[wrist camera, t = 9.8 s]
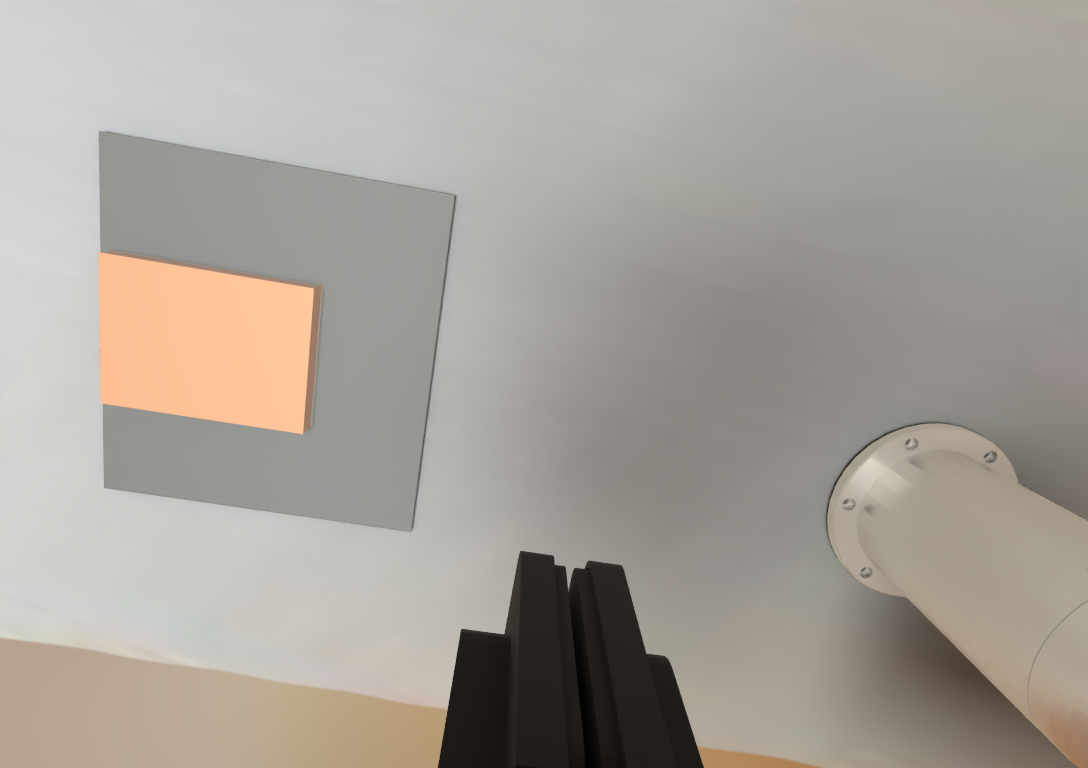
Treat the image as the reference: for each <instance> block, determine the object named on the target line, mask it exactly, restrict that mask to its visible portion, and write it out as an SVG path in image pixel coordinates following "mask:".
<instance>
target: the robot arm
mask: <svg viewBox="0 0 1088 768" xmlns="http://www.w3.org/2000/svg"><path fill="white" fill-rule="evenodd" d="M827 523H828V534H829V538H830V542H831V546H832V548H833V550H834V552H835V554H836V556H837V557H838V559H839V561H840V562H841V563H842V564H843V565H844V567H845V568H846V569H847V570H848V571H849V572H850V573H851V574H852V575H853V576H854V577H855V578H856V579H857V580H858V581H859V582H861V583H863V584H864V585H866V586H868V587H869V588H871V589H873V590H875V591H878V592H881V593H884V594H887V595H892V596H899V597H907V598H908V599H909V600H910V601H911V602H912V603H913V604H914V605H915V606H916V607H917V608H918V609H919V610H920V611H921V612H922V613H923V614H924V615H925V616H926V617H927V618H928V619H929V620H930V621H931V622H932V623H933V624H934V625H935V626H936V627H937V628H938V629H939V630H940V631H941V632H942V633H943V634H944V635H945V636H946V637H947V638H948V639H949V640H950V641H951V642H952V643H953V644H954V645H955V646H956V648H957V649H958V650H959V651H960V652H961V653H962V654H963V655H964V656H965V657H966V658H967V659H968V660H969V661H970V662H971V663H972V664H973V665H974V666H975V667H976V668H977V669H978V670H979V671H980V672H981V673H982V674H983V675H984V676H985V677H986V678H987V679H988V680H989V681H990V682H991V683H992V684H993V685H994V686H995V687H996V688H997V689H998V690H999V691H1000V692H1001V693H1002V694H1003V695H1004V696H1005V697H1006V698H1007V699H1008V700H1009V701H1010V702H1011V703H1012V704H1013V705H1014V706H1015V707H1016V708H1017V709H1018V710H1019V711H1020V712H1021V713H1022V714H1023V715H1024V716H1025V717H1026V718H1027V719H1028V720H1029V721H1030V722H1031V723H1032V724H1033V725H1034V726H1035V727H1037V728H1038V729H1039V730H1040V731H1041V732H1042V733H1043V734H1044V735H1045V736H1046V737H1047V738H1048V739H1049V740H1050V741H1051V742H1052V743H1053V744H1054V745H1055V746H1056V747H1057V748H1058V749H1059V750H1060V751H1061V752H1062V753H1063V754H1064V755H1065V756H1066V757H1067V758H1068V759H1069V760H1070V761H1071V762H1072V763H1074V764H1075V765H1076V766H1077V767H1078V768H1088V521H1087V520H1085V519H1083V518H1081V517H1079V516H1077V515H1076V514H1074V513H1072V512H1070V511H1068V510H1066V509H1064V508H1063V507H1061V506H1059V505H1057V504H1055V503H1053V502H1051V501H1050V500H1048V499H1046V498H1044V497H1042V496H1040V495H1038V494H1037V493H1035V492H1033V491H1031V490H1029V489H1027V488H1026V487H1024V486H1022V485H1020V484H1018V479H1017V476H1016V474H1015V471H1014V469H1013V466H1012V464H1011V462H1010V461H1009V460H1008V458H1007V457H1006V456H1005V454H1004V453H1003V452H1002V450H1000V449H999V448H998V447H997V446H996V445H995V444H993V443H992V442H991V441H990V440H988V439H986V438H984V437H982V436H980V435H978V434H976V433H975V432H972V431H970V430H967V429H964V428H962V427H959V426H954V425H948V424H942V423H936V424H920V425H915V426H910V427H905V428H903V429H900V430H897V431H895V432H892V433H890V434H887V435H886V436H884V437H882V438H880V439H879V440H877V441H875V442H874V443H872V444H871V445H869V446H868V447H867V448H866V449H865V450H863V451H862V452H861V453H860V454H859V455H857V456H856V458H855V459H854V460H853V461H852V462H851V463H850V464H849V466H848V467H847V468H846V469H845V470H844V472H843V474H842V475H841V477H840V479H839V480H838V482H837V484H836V486H835V488H834V491H833V494H832V496H831V499H830V503H829V509H828V515H827ZM438 768H704V767H703V764H702V761H701V758H700V754H699V751H698V748H697V745H696V742H695V739H694V735H693V732H692V729H691V726H690V723H689V720H688V717H687V713H686V710H685V707H684V704H683V701H682V698H681V694H680V691H679V688H678V685H677V682H676V679H675V676H674V672H673V669H672V666H671V664H670V662H669V660H668V659H667V658H666V657H665V656H660V655H653V654H646V651H645V647H644V644H643V640H642V636H641V632H640V629H639V625H638V621H637V618H636V614H635V610H634V606H633V603H632V599H631V595H630V591H629V588H628V584H627V580H626V576H625V573H624V569H623V567H622V566H621V565H615V564H608V563H601V562H594V561H588V562H587V564H586V567H585V569H579V568H575V569H574V571H573V574H572V578H571V583H570V587H569V592H568V585H567V575H566V568H565V566H558V565H555V564H554V556H552V555H545V554H538V553H531V552H524V551H520V554H519V558H518V563H517V569H516V574H515V580H514V585H513V590H512V596H511V601H510V607H509V612H508V618H507V623H506V629H505V634H504V635H503V634H496V633H488V632H481V631H473V630H466V629H461V634H460V640H459V646H458V652H457V658H456V664H455V670H454V676H453V682H452V687H451V693H450V699H449V705H448V711H447V717H446V723H445V730H444V735H443V741H442V747H441V753H440V760H439V765H438Z"/></svg>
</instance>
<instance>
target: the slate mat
mask: <svg viewBox="0 0 1088 768" xmlns="http://www.w3.org/2000/svg"><path fill="white" fill-rule="evenodd" d="M99 173H100V241H101V252H108V251H121V252H127V253H133V254H139V255H145V256H151V257H157V258H163V259H169V260H174V261H180V262H186V263H192V264H198V265H204V266H210V267H216V268H222V269H228V270H234V271H240V272H245V273H251V274H257V275H263V276H269V277H275V278H281V279H287V280H293V281H299V282H305V283H311V284H317V285H322V286H323V294H322V307H321V320H320V332H319V345H318V357H317V370H316V383H315V395H314V408H313V420H312V426H311V427H310V428H309V429H308V430H307V431H306V432H305V433H304V434H299V433H292V432H286V431H279V430H272V429H266V428H259V427H253V426H246V425H240V424H233V423H227V422H220V421H213V420H207V419H200V418H194V417H187V416H181V415H174V414H168V413H161V412H154V411H148V410H141V409H135V408H128V407H122V406H115V405H109V404H103V446H104V488H108V489H115V490H122V491H129V492H136V493H143V494H150V495H156V496H163V497H170V498H177V499H184V500H191V501H198V502H205V503H212V504H219V505H226V506H233V507H240V508H247V509H254V510H261V511H268V512H275V513H282V514H289V515H296V516H303V517H310V518H317V519H324V520H331V521H338V522H344V523H351V524H358V525H365V526H372V527H379V528H386V529H393V530H400V531H407V532H411V530H412V528H413V520H414V512H415V505H416V497H417V489H418V482H419V474H420V466H421V459H422V451H423V443H424V436H425V428H426V420H427V413H428V405H429V397H430V390H431V382H432V374H433V367H434V359H435V351H436V343H437V336H438V328H439V320H440V313H441V305H442V297H443V290H444V282H445V274H446V267H447V259H448V251H449V244H450V236H451V228H452V221H453V213H454V205H455V198H456V196H455V195H450V194H445V193H439V192H434V191H428V190H423V189H417V188H412V187H406V186H401V185H395V184H390V183H384V182H379V181H373V180H368V179H362V178H357V177H351V176H346V175H340V174H335V173H329V172H323V171H318V170H312V169H307V168H301V167H296V166H290V165H285V164H279V163H274V162H268V161H263V160H257V159H252V158H246V157H241V156H235V155H230V154H224V153H219V152H213V151H208V150H202V149H197V148H191V147H186V146H180V145H175V144H169V143H164V142H158V141H153V140H147V139H142V138H136V137H131V136H125V135H119V134H114V133H108V132H103V131H99Z"/></svg>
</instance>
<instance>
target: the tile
mask: <svg viewBox="0 0 1088 768" xmlns="http://www.w3.org/2000/svg"><path fill="white" fill-rule="evenodd" d="M98 260H99V324H100V388H101V403H102V404H109V405H115V406H122V407H128V408H135V409H141V410H148V411H154V412H161V413H168V414H174V415H181V416H187V417H194V418H200V419H207V420H213V421H220V422H227V423H233V424H240V425H246V426H253V427H259V428H266V429H272V430H279V431H286V432H292V433H299V434H304V433H305V432H306V431H307V430H308V429H309V428H310V427H311V426H312V420H313V408H314V395H315V383H316V370H317V357H318V345H319V332H320V320H321V307H322V294H323V286H322V285H317V284H311V283H305V282H299V281H293V280H287V279H281V278H275V277H269V276H263V275H257V274H251V273H245V272H240V271H234V270H228V269H222V268H216V267H210V266H204V265H198V264H192V263H186V262H180V261H174V260H169V259H163V258H157V257H151V256H145V255H139V254H133V253H127V252H121V251H108V252H98Z"/></svg>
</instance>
